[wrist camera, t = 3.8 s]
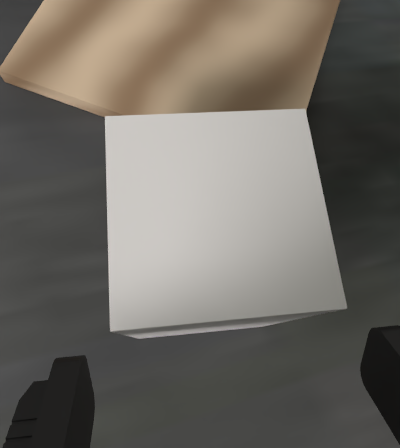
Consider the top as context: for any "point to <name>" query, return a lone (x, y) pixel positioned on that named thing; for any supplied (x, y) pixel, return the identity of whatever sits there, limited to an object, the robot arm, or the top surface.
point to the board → (173, 54)
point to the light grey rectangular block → (216, 223)
